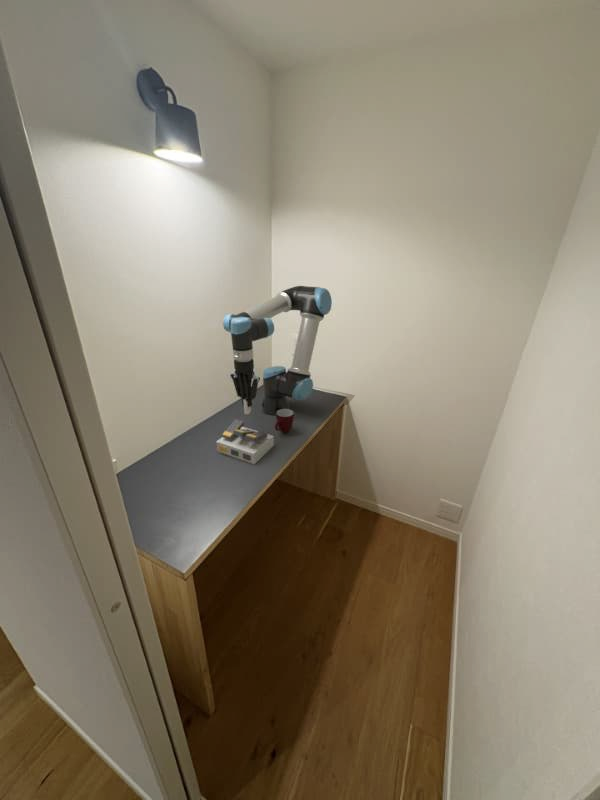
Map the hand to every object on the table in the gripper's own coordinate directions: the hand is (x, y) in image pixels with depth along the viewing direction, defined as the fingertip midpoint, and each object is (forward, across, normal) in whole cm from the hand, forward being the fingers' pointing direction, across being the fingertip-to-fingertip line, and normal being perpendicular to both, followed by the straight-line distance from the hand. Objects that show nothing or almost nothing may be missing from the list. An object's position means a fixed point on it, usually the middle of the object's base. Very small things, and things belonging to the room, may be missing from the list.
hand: (247, 412), depth 132 cm
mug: (+17, +8, +16) cm, 24 cm away
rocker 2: (+8, 0, -3) cm, 9 cm away
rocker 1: (+8, -6, -3) cm, 11 cm away
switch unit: (+16, 0, -3) cm, 16 cm away
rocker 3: (+8, +6, -3) cm, 11 cm away
